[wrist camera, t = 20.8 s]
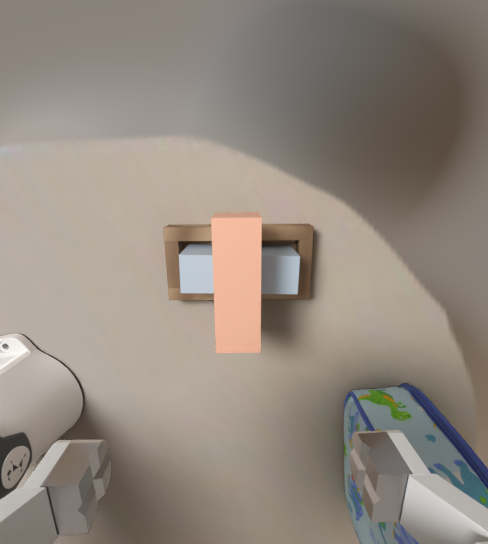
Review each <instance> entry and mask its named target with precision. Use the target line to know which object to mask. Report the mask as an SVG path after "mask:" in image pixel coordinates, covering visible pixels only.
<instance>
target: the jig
mask: <svg viewBox="0 0 488 544" xmlns="http://www.w3.org/2000/svg"><path fill="white" fill-rule="evenodd" d="M313 229H314V227H313V226H312V225H310V224H262V242H261V245H291V246H292V248H293V249H294V250H295V251H296V252H297V253H298V254H299V256H300V265H299V280H298V294H261V299H310V281H311V264H312V246H313ZM163 230H164V242H165V254H166V267H167V279H168V292H169V300H214V293H181V290H180V268H179V254H180V253H181V252H182V251H183V250H184V249H185V248H186V247H187V246H188V245H189V244H212V230H211V225H168V226H166V227H164V228H163Z"/></svg>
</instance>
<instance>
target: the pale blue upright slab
mask: <svg viewBox="0 0 488 544" xmlns="http://www.w3.org/2000/svg"><path fill="white" fill-rule="evenodd" d="M299 265H300V256H299V254H298V253H297V252H296V251H295V250H294V249H293V248H292V246H291V245H261V294H298V280H299ZM179 268H180V290H181V293H214V283H213V256H212V244H189V245H188V246H187V247H186V248H185V249H184V250H183V251H182V252H181V253H180V254H179Z"/></svg>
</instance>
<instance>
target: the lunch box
mask: <svg viewBox="0 0 488 544" xmlns="http://www.w3.org/2000/svg"><path fill="white" fill-rule="evenodd" d="M384 430H400V431H401V432H402V433H403V434H404V436H405V437H406V438H407V440H408V441H409V443H410V444H411V446H412V447H413V448H414V450H415V451H416V453H417V454H418V456H419V457H420V458H421V460H422V461H423V463H424V464H425V466H426V467H427V468H428V470H429V471H430V473H431V474H437V475H439V476H440V477H442V478H443V479H445V480H446V481H447V482H449V483H450V484H452V485H453V486H455V487H456V488H458V489H459V490H461V491H462V492H464V493H465V494H467V495H468V496H470V497H471V498H473V499H474V500H476V501H477V502H478V503H480V504H481V505H483V506H484V507H486V508H487V509H488V469H487V467H486V466H485V465H484V463H483V462H482V461H481V460H480V459H479V457H478V456H477V455H476V454H475V452H474V451H473V450H472V449H471V447H470V446H469V445H468V444H467V443H466V441H465V440H464V439H463V438H462V437H461V436H460V434H459V433H458V432H457V431H456V430H455V429H454V427H453V426H452V425H451V424H450V423H449V422H448V421H447V419H446V418H445V417H444V416H443V415H442V414H441V413H440V411H439V410H438V409H437V408H436V407H435V406H434V405H433V403H432V402H431V401H430V400H429V399H428V398H427V397H426V396H425V395H424V394H423V393H422V392H421V391H420V390H418V389H417V388H416V387H414V386H412V385H409V384H407V383H402V384H400V386H399V387H387V388H379V389H359V390H352V391H350V392H349V393H348V394H347V396H346V399H345V403H344V484H345V495H346V500H347V504H348V508H349V512H350V516H351V520H352V523H353V525H354V528H355V531H356V534H357V537H358V539H359V542H360V544H419V543H418V542H417V541H416V540H415V539H414V538H413V537H412V536H411V535H410V534H409V533H408V532H407V531H406V530H405V529H404V527H403V526H402V525H401V524H400V522H371V520H370V518H369V515H368V513H367V510H366V508H365V506H364V503H363V501H362V494H363V491H362V490H361V489H360V488H359V487H358V486H356V484H355V481H354V479H353V476H352V472H351V467H350V452H351V451H352V450H353V449H354V445H353V443H352V435H353V433H354V432H359V431H384Z"/></svg>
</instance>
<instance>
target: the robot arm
mask: <svg viewBox="0 0 488 544" xmlns="http://www.w3.org/2000/svg"><path fill="white" fill-rule="evenodd" d="M7 344H8V345H7ZM82 407H83V397H82V392H81V389H80V386H79V384H78V382H77V380H76V379H75V377H74V376H73V375H72V373H71V372H70V371H69V370H68V369H67V368H66V367H65V366H64V365H63V364H61V363H60V362H59V361H57V360H56V359H54V358H52V357H50V356H48V355H46V354H44V353H43V352H41V351H39V350H38V349H37V348H36V347H35V346H34V345H33V344H32V343H31V342H30V341H29V340H28V339H27V338H26V337H24V336H23V335H21V334H17V333H15V334H9V335H4V336H0V544H52V543H53V542H54V541H55V540H56V539H57V538H58V535H72V534H85V533H89V530H90V528H91V526H92V523H93V521H94V519H95V516H96V514H97V511H98V504H97V501H98V500H99V499H100V498H101V497H102V496H103V495H104V494H105V493H106V490H107V488H108V485H109V481H110V476H111V460H110V459H109V458H108V457H107V456H106V453H107V451H108V449H109V448H108V443H107V440H58V441H56V440H57V439H58V438H59V437H60V436H62V435H63V434H64V433H65V432H66V431H67V430H69V429H70V428H71V427H72V426H73V425H74V424H75V423H76V422H77V420H78V419H79V417H80V415H81V412H82ZM55 441H56V442H55ZM54 442H55V443H54ZM53 443H54V444H53ZM352 443H353V445H354V449H353V450H352V451H351V452H350V467H351V472H352V476H353V479H354V481H355V484H356V486H358V487H359V488H360V489H361V490H362V491H363V494H362V501H363V503H364V506H365V508H366V510H367V513H368V515H369V518H370V520H371V522H400V524H401V525H402V526H403V527H404V529H405V530H406V531H407V532H408V533H409V534H410V535H411V536H412V537H413V538H414V539H415V540H416V541H417V542H418V543H419V544H488V509H487V508H486V507H484V506H483V505H481V504H480V503H478V502H477V501H476V500H474V499H473V498H471V497H470V496H468V495H467V494H465V493H464V492H462V491H461V490H459V489H458V488H456V487H455V486H453V485H452V484H450V483H449V482H447V481H446V480H445V479H443V478H442V477H440V476H439V475H437V474H431V473H430V471H429V470H428V468H427V467H426V466H425V464H424V463H423V461H422V460H421V458H420V457H419V456H418V454H417V453H416V451H415V450H414V448H413V447H412V446H411V444H410V443H409V441H408V440H407V438H406V437H405V436H404V434H403V433H402V432H401V431H400V430H384V431H359V432H354V433H353V435H352ZM50 447H51V448H50ZM49 448H50V449H49ZM48 449H49V450H48ZM47 451H48V452H47ZM46 452H47V453H46ZM44 453H46V455H45V456H44V457H43V459H42V460H41V462H40V463H39V464H38V466H37V467H36V469H35V470H34V471H33V473H32V474H31V476H30V477H29V478H28V480H27V481H26V483H25V484H24V485H23V487H22V488H16V487H17V486H18V484H19V482H20V481H21V479H22V478H23V476H24V474H25V472H26V471H27V470H28V469H29V468H30V467H31V466H32V465H33V464H34V463H35V462H36V461H37V460H38V458H39V457H40V456H41V455H42V454H44Z"/></svg>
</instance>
